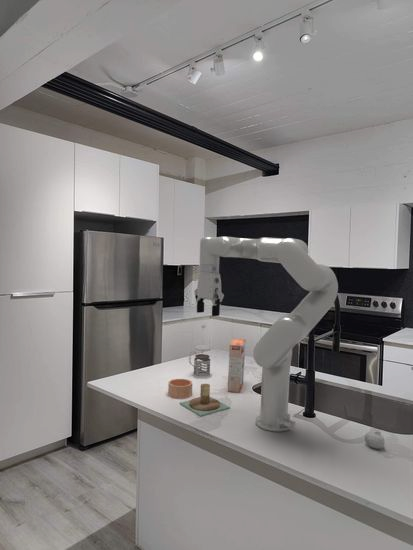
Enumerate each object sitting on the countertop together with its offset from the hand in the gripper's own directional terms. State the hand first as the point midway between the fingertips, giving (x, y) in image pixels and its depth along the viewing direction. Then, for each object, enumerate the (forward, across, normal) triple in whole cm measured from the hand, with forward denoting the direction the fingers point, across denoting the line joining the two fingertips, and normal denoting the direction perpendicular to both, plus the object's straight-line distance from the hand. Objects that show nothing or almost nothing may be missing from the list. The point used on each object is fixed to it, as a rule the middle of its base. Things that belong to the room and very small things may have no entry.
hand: (207, 314), depth 148 cm
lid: (+36, 0, 0) cm, 36 cm away
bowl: (+36, +16, +1) cm, 40 cm away
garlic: (+36, -55, -26) cm, 71 cm away
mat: (+36, 0, 0) cm, 36 cm away
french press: (+36, +32, -21) cm, 53 cm away
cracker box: (+36, +10, -25) cm, 45 cm away
